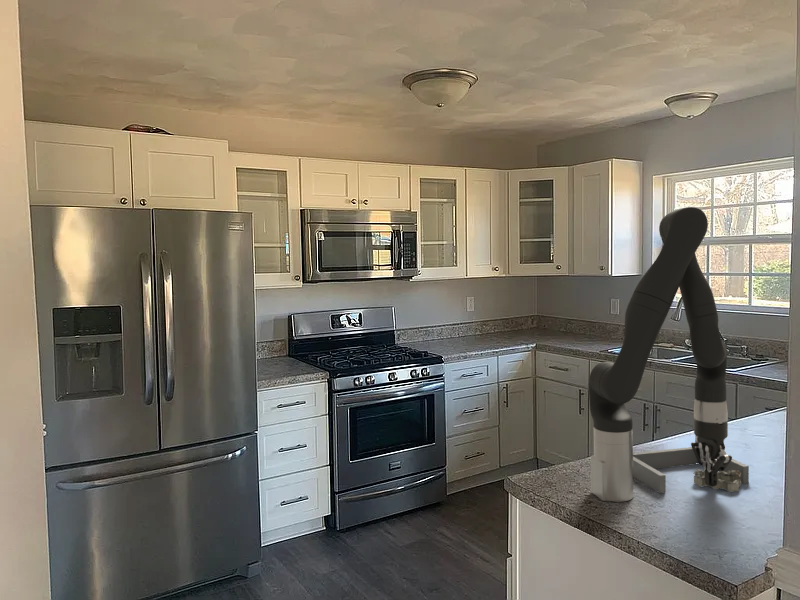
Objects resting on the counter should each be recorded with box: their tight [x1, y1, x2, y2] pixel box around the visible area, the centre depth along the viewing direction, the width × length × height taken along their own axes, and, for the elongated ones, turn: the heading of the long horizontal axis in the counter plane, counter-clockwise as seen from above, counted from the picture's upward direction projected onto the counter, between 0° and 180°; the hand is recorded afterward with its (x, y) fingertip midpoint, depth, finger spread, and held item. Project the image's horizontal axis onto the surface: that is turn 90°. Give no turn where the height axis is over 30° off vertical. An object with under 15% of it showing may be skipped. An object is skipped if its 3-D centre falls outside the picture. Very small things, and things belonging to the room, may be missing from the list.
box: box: [633, 446, 750, 494], centre depth 166 cm, size 25×18×4 cm
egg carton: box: [693, 468, 742, 493], centre depth 159 cm, size 11×8×4 cm
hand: (711, 485), depth 155 cm, fingers closed
